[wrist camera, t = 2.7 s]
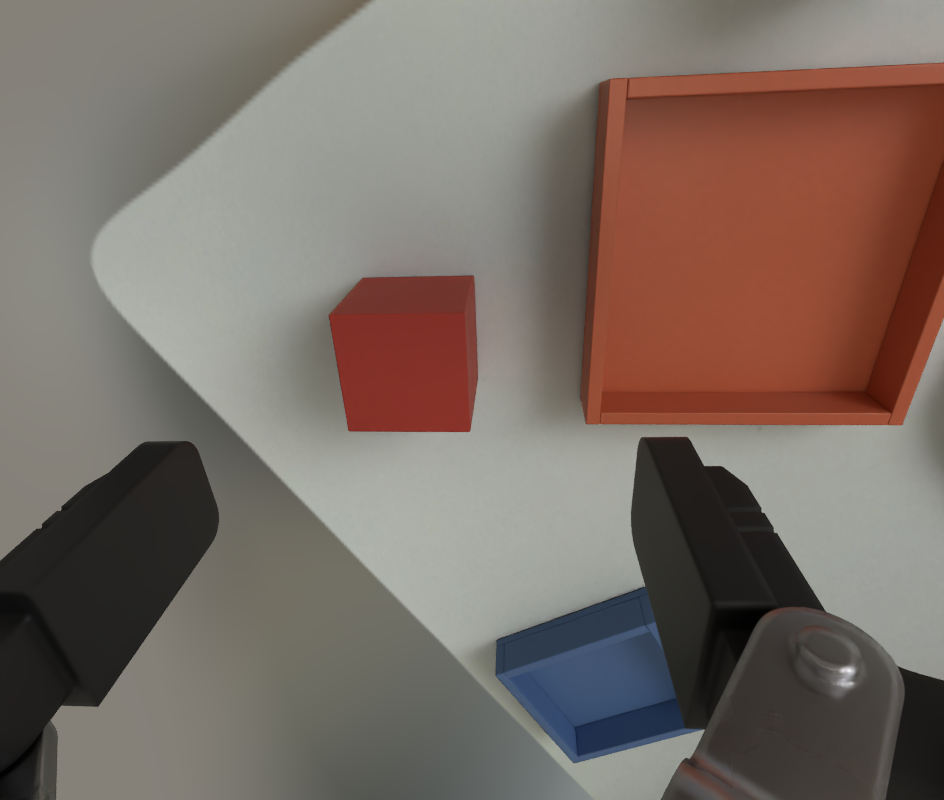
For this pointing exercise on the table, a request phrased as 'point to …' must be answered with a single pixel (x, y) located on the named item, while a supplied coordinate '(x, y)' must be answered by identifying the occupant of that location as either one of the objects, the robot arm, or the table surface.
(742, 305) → the terracotta tray
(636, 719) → the blue tray
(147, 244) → the table surface
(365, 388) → the red block
